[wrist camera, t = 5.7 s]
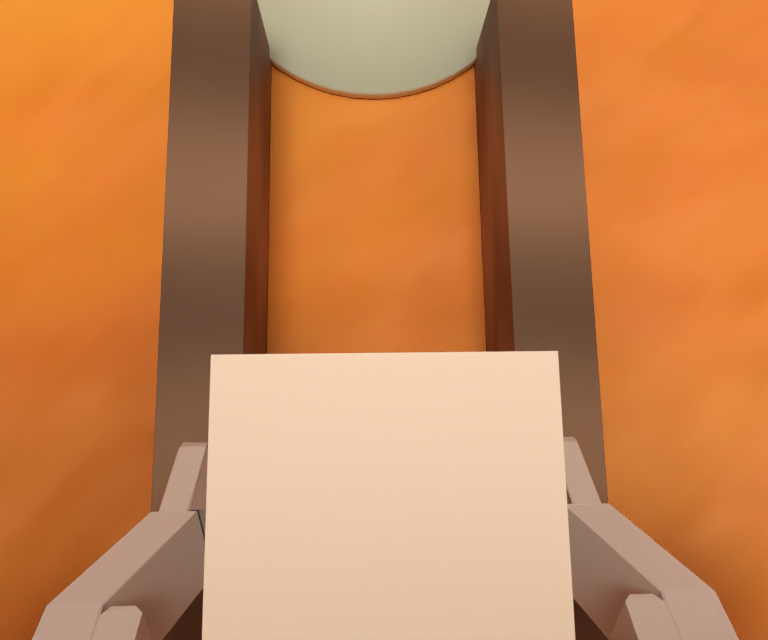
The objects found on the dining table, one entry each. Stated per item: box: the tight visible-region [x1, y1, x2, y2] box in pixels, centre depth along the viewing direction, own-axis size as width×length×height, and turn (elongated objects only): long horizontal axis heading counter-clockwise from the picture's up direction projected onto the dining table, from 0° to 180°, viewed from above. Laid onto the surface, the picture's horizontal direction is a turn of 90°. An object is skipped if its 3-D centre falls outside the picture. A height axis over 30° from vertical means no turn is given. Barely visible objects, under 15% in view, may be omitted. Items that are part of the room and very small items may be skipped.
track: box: [151, 0, 609, 640], centre depth 17 cm, size 18×10×4 cm, turn 1°
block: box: [202, 351, 575, 640], centre depth 13 cm, size 4×4×10 cm
